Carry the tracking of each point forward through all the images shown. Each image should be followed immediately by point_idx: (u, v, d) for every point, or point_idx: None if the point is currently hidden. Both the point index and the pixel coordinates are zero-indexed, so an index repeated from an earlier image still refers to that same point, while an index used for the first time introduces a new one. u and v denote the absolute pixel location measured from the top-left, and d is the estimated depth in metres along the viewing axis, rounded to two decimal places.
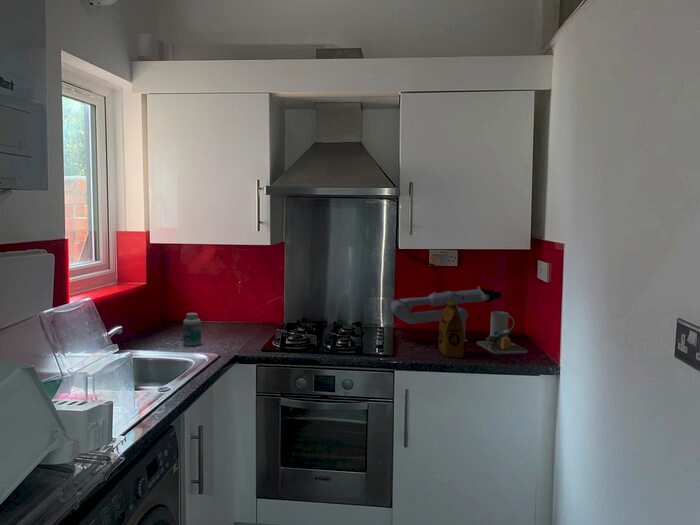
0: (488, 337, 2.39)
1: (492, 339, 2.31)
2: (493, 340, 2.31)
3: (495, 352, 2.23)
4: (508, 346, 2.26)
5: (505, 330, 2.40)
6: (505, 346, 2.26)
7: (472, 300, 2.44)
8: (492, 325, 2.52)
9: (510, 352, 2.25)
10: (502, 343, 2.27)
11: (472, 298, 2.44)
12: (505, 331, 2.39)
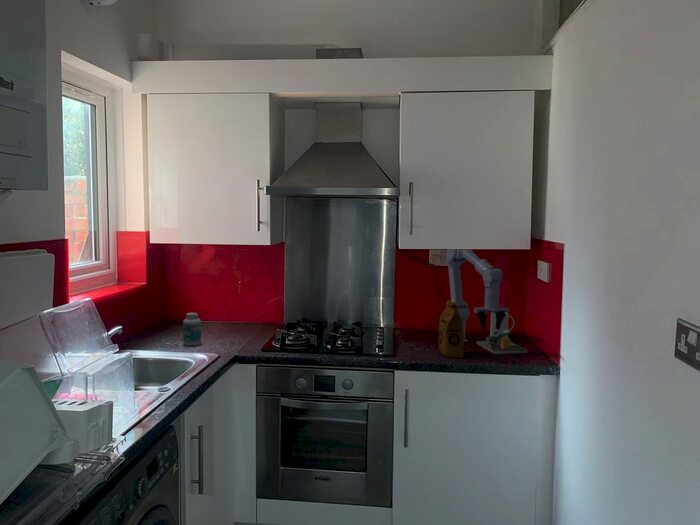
0: (488, 337, 2.39)
1: (492, 339, 2.31)
2: (493, 340, 2.31)
3: (495, 352, 2.23)
4: (508, 346, 2.26)
5: (505, 330, 2.40)
6: (505, 346, 2.26)
7: None
8: (492, 325, 2.52)
9: (510, 352, 2.25)
10: (502, 343, 2.27)
11: (485, 297, 2.24)
12: (505, 331, 2.39)
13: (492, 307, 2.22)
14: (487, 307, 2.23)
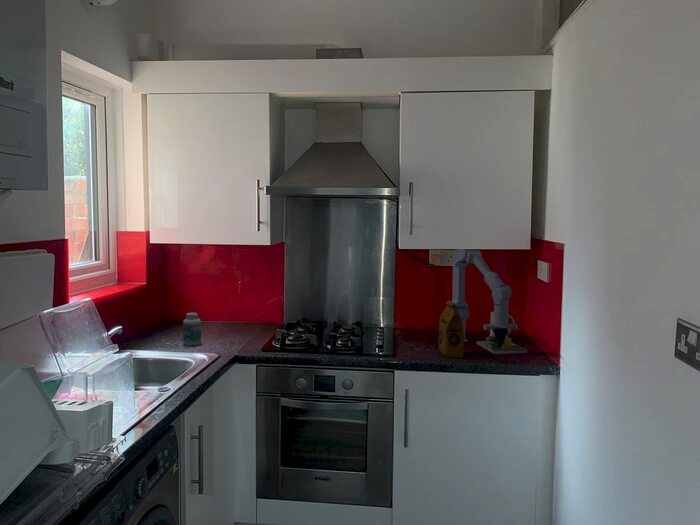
0: (488, 337, 2.39)
1: (492, 339, 2.31)
2: (493, 340, 2.31)
3: (495, 352, 2.23)
4: (509, 346, 2.26)
5: None
6: (506, 346, 2.26)
7: None
8: None
9: (510, 352, 2.25)
10: (503, 343, 2.27)
11: (494, 314, 2.26)
12: None
13: (501, 324, 2.23)
14: (496, 324, 2.24)
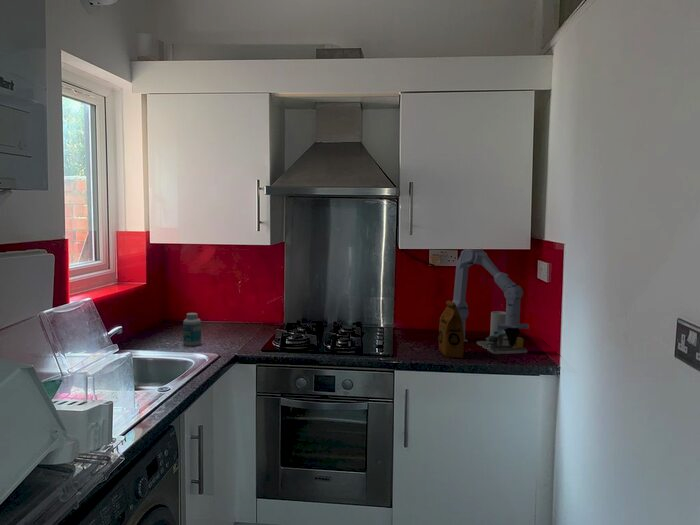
0: (488, 337, 2.39)
1: (492, 339, 2.31)
2: (493, 340, 2.31)
3: (495, 352, 2.23)
4: (521, 346, 2.27)
5: None
6: (518, 346, 2.27)
7: None
8: (492, 325, 2.52)
9: (510, 352, 2.25)
10: (515, 343, 2.28)
11: (506, 314, 2.27)
12: None
13: (513, 324, 2.24)
14: (508, 324, 2.25)
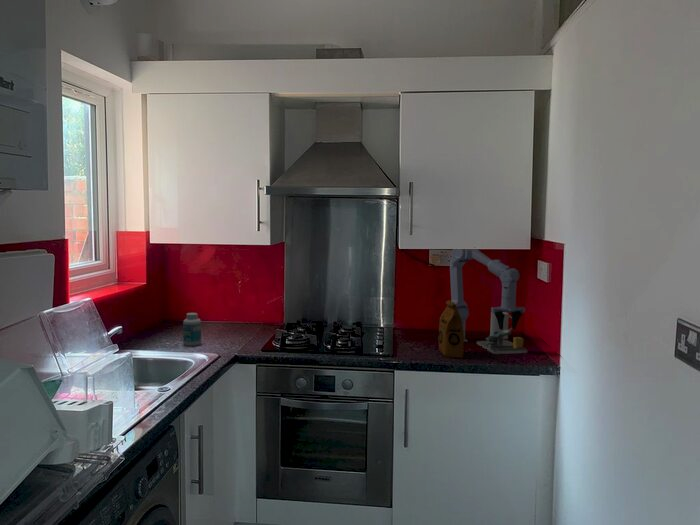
0: (488, 337, 2.39)
1: (492, 339, 2.31)
2: (493, 340, 2.31)
3: (495, 352, 2.23)
4: (521, 346, 2.27)
5: (505, 330, 2.40)
6: (518, 346, 2.27)
7: None
8: (492, 325, 2.52)
9: (510, 352, 2.25)
10: (515, 343, 2.28)
11: None
12: (505, 331, 2.39)
13: (509, 307, 2.23)
14: (504, 307, 2.24)
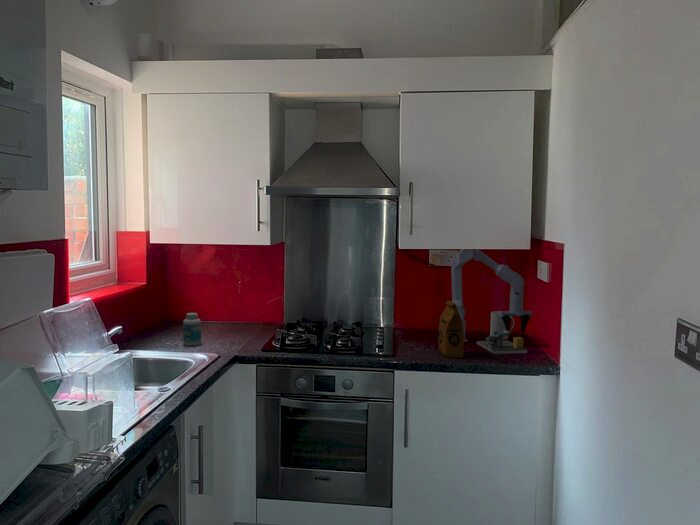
0: (488, 337, 2.39)
1: (492, 339, 2.31)
2: (493, 340, 2.31)
3: (495, 352, 2.23)
4: (521, 346, 2.27)
5: (505, 330, 2.40)
6: (518, 346, 2.27)
7: None
8: (492, 325, 2.52)
9: (510, 352, 2.25)
10: (515, 343, 2.28)
11: (510, 302, 2.39)
12: (505, 331, 2.39)
13: (517, 311, 2.36)
14: (512, 311, 2.37)
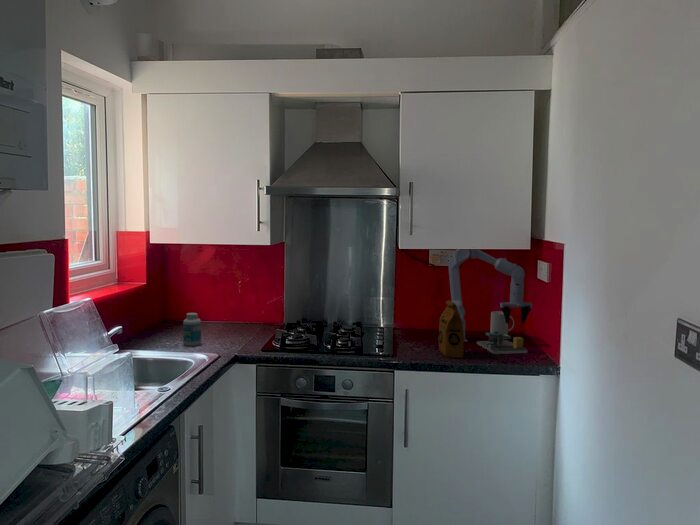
0: None
1: (492, 339, 2.31)
2: (493, 340, 2.31)
3: (495, 352, 2.23)
4: (521, 346, 2.27)
5: None
6: (518, 346, 2.27)
7: None
8: (492, 325, 2.52)
9: (510, 352, 2.25)
10: (515, 343, 2.28)
11: (510, 293, 2.39)
12: (506, 335, 2.39)
13: (517, 302, 2.36)
14: (512, 302, 2.37)
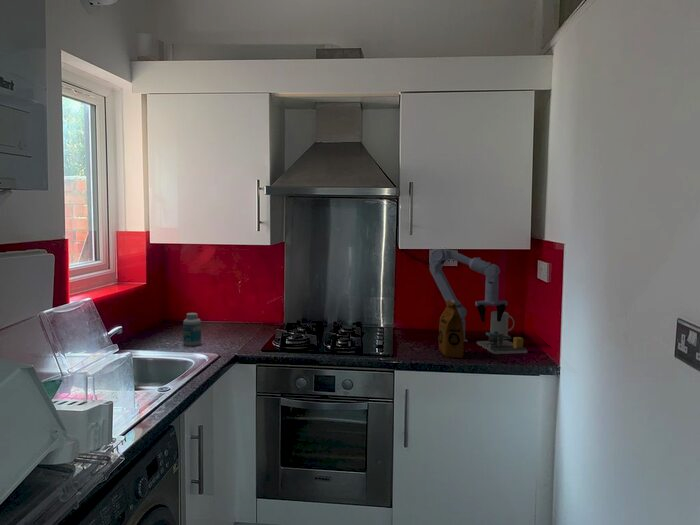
0: None
1: (492, 339, 2.31)
2: (493, 340, 2.31)
3: (495, 352, 2.23)
4: (521, 346, 2.27)
5: (506, 335, 2.40)
6: (518, 346, 2.27)
7: None
8: (492, 325, 2.52)
9: (510, 352, 2.25)
10: (515, 343, 2.28)
11: (485, 291, 2.38)
12: (506, 335, 2.39)
13: (492, 300, 2.36)
14: (487, 300, 2.37)
